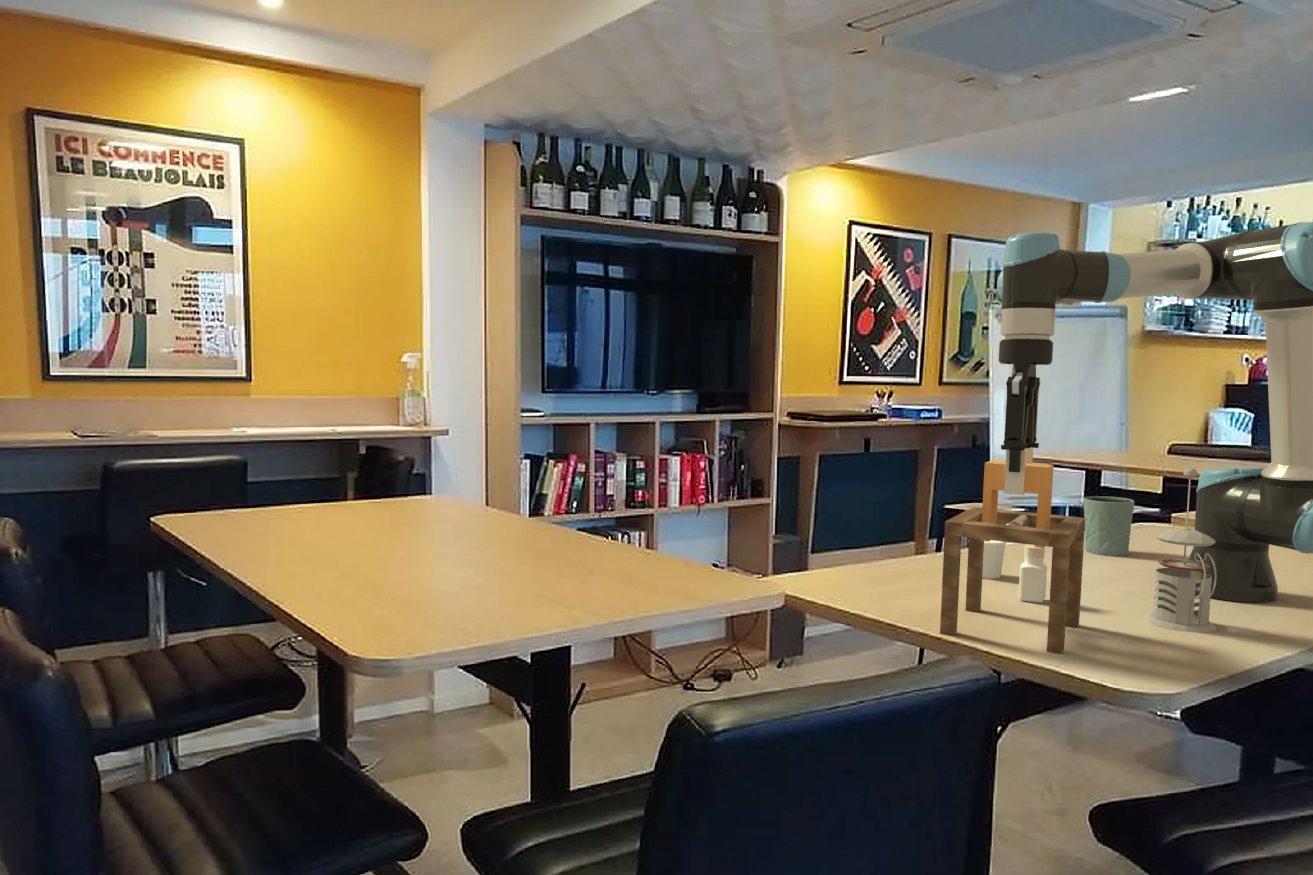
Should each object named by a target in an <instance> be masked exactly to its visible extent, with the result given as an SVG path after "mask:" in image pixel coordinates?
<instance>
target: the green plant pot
mask: <svg viewBox="0 0 1313 875" xmlns="http://www.w3.org/2000/svg"><path fill="white" fill-rule="evenodd" d="M1082 501H1083V502H1082V503H1083V512H1084V513H1083V516H1084V517H1083V518H1085V533H1084V545H1085V546H1084V548H1085V551H1086V552H1087V553H1090V554H1092V555H1096V556H1097V555H1098V556H1105V557H1106V556H1108V557H1126V556H1128V555H1129V548H1130V537H1131V531H1132V529H1131V528H1132V523H1133V515H1134V508H1135V501H1134V500H1133V499H1131V498H1126V497H1119V496H1118V497H1117V496H1104V495H1103V496H1102V495H1101V496H1100V495H1095V496H1092V495H1091V496H1084V497H1083V499H1082Z"/></svg>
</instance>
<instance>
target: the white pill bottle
mask: <svg viewBox="0 0 1313 875" xmlns="http://www.w3.org/2000/svg"><path fill="white" fill-rule="evenodd" d="M1045 547H1046V546H1045ZM1045 547H1044V548H1039V547H1035V545H1030V544H1024V554H1023V556H1024V562H1022V563H1021V565H1020V566H1019V567H1020V568H1019V582H1018V583H1019V585H1018V599H1019V600H1020V601H1021V602H1028V603H1029V602H1030V603H1035V604H1041V603H1043V602H1044V600H1045V598H1046V592H1047V589H1046V588H1047V572H1048V566H1047V565H1046V564H1044V559H1045V552H1046V551H1045V550H1046V548H1045Z"/></svg>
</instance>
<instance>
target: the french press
mask: <svg viewBox="0 0 1313 875" xmlns="http://www.w3.org/2000/svg"><path fill="white" fill-rule="evenodd" d="M1183 475H1184V476H1187V477H1189V478H1188V489H1187V490H1188V491H1187V503H1186V504H1187V506H1186V521H1185V527H1182V528H1174V529H1169V530H1166V531H1163V532H1161V533H1159V534H1157V536H1156V538H1157V540H1158V541H1161V542H1163V543H1167V544H1172V545H1179V546H1184V547H1183V548H1184V549H1183V550H1184V552H1183V559H1182V558H1162V559H1160V560H1158V564H1159V565H1161V566H1162V568H1156V569H1155V578H1154V580H1155V581H1154V582H1155V583H1154V584H1156V583H1158V584H1157V585H1155V586H1154V592H1156V593H1154V596H1153V598H1154V599H1156V600H1155V601H1154V602H1153V607H1156V606H1157V607H1156V608H1154V609H1153V610H1152V612H1153V613H1151V614H1149V615H1148V616H1146V618H1145V620H1146V621H1147V623H1149V624H1151V625H1155V626H1157V627H1160V628H1165V629H1167V630H1173V631H1180V632H1186V633H1187V632H1188V633H1189V632H1190V633H1208V632H1209V633H1210V632H1213V631H1216V626H1215V625H1214V624H1213V623H1212V621H1210V608H1211V604H1210V603H1211V597H1210V596H1211V595H1212V594H1213V592H1214V589H1215V586H1216V576H1217V575H1216V567H1215V564H1214V561H1213V559H1212V557H1211V556H1210V555H1209V553H1206V554H1205V558H1204V559H1203V560H1202V558H1201V556H1200V555H1199V554H1198V553H1195V554H1194V559H1195V561H1197V562H1193V561H1191V560H1190V561H1189V560H1188V559H1186V557H1187V546H1188V547H1189V546H1190V547H1194V546H1211V545H1213V544H1214V543H1215V540H1213V539H1212V538H1211V537H1210V536H1208V535H1205V534H1203V533H1201V532H1199V531H1196V530H1195V529H1191V528H1190V527H1188V526H1189V524H1188V523H1189V512H1190V511H1189V510H1190V496H1191V480H1192V477H1197V476H1198V470H1196V469H1195V468H1192V467H1190V468H1186V469H1185V470H1184V471H1183ZM1196 554H1197V555H1198V556H1199V558H1200V560H1197V559H1196ZM1206 555H1208V556H1209V557H1210V559H1211V561H1212V563H1213V566H1214V572H1215V580H1214V586H1213V590H1212V592H1211V584H1212V576H1211V575H1210V574H1208V573H1206V570H1209V569H1210V566H1209V565H1207V564H1206V563H1204V562H1203V561H1205V560H1206ZM1201 562H1202V563H1201ZM1200 571H1204V572H1200ZM1196 583H1201V585H1200V587H1196ZM1197 591H1200V594H1199V595H1198V594H1195V592H1197ZM1198 599H1199V600H1198ZM1196 600H1198V602H1195V601H1196ZM1197 607H1198V609H1197V610H1195V608H1197Z"/></svg>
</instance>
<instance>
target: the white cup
mask: <svg viewBox="0 0 1313 875" xmlns="http://www.w3.org/2000/svg"><path fill="white" fill-rule="evenodd" d="M1006 543H1007V542H1003V541H995V540H990V541H989V542H988V541H984V552H983V572H982V579H983V578H987V579H986V580H996V579H995V578H998V579H1000V578H1001V575H1002V569H1003V562H1004V555H1005V549H1006Z"/></svg>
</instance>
